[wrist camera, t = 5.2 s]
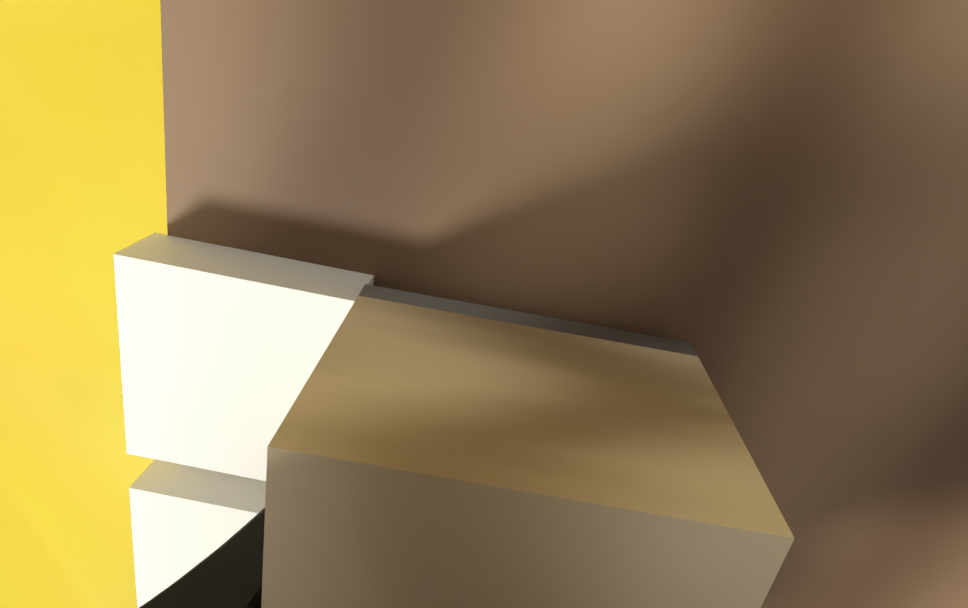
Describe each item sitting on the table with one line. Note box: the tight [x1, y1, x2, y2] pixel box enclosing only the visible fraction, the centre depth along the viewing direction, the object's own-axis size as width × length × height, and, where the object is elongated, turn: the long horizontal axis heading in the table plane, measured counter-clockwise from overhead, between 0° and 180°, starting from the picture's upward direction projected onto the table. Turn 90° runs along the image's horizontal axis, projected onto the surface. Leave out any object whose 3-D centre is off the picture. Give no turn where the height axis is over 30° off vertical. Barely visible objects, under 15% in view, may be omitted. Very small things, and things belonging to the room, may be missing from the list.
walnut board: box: [161, 0, 968, 608], centre depth 14 cm, size 18×22×2 cm
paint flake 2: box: [129, 459, 266, 608], centre depth 14 cm, size 4×4×1 cm
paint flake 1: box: [113, 233, 374, 481], centre depth 12 cm, size 4×4×1 cm
